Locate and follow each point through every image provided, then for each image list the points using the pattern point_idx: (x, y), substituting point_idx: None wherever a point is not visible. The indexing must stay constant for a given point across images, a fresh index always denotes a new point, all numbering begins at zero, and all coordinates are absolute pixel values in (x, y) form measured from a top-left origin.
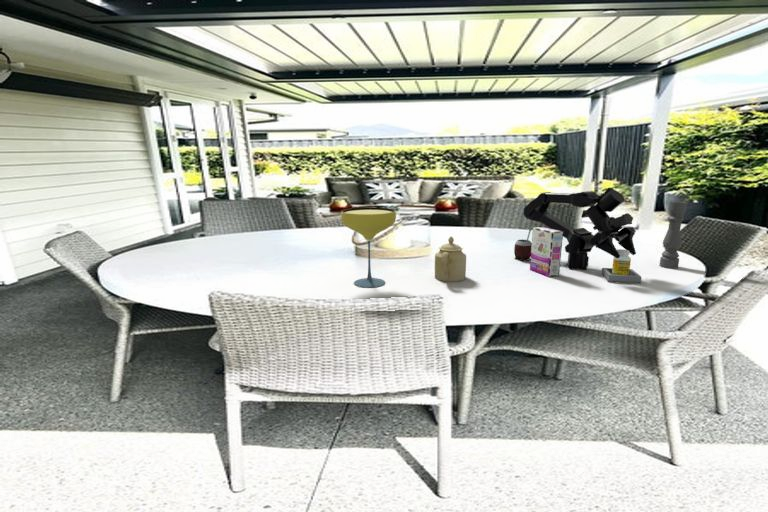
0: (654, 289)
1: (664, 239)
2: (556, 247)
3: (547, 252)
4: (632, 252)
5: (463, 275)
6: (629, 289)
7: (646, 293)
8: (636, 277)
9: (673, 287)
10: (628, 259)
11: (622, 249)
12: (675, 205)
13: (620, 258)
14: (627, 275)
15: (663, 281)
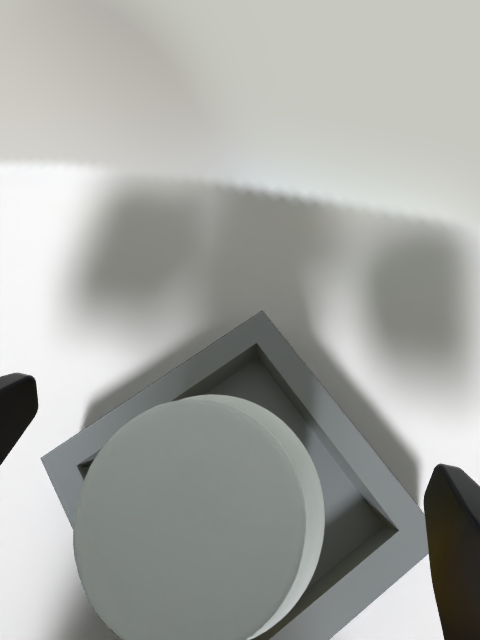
0: (325, 235)
1: None
2: None
3: None
4: (11, 421)
5: None
6: (466, 334)
7: (455, 236)
8: (284, 340)
9: (194, 185)
10: (249, 403)
11: (83, 568)
12: None
13: (315, 495)
14: (311, 402)
15: (90, 257)
